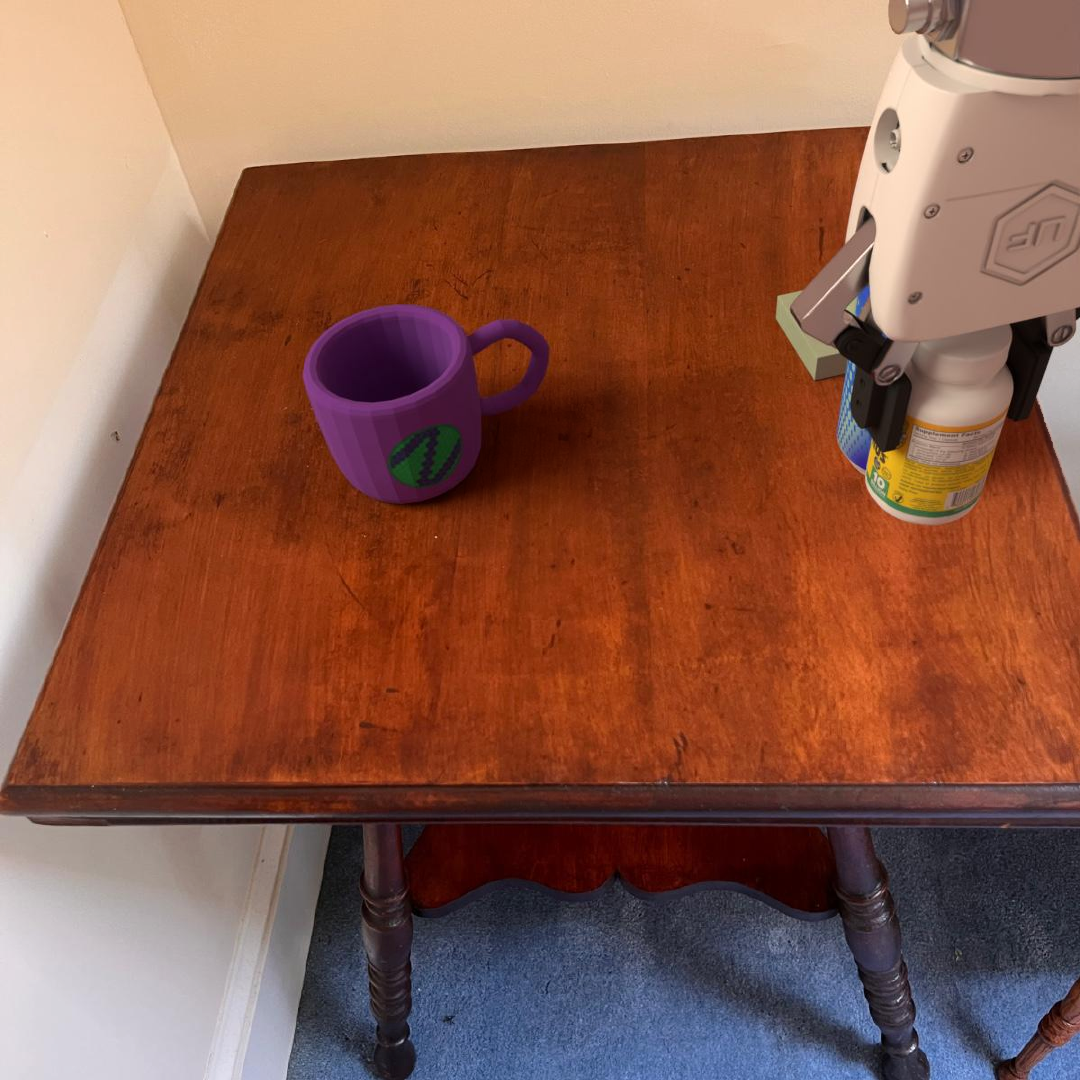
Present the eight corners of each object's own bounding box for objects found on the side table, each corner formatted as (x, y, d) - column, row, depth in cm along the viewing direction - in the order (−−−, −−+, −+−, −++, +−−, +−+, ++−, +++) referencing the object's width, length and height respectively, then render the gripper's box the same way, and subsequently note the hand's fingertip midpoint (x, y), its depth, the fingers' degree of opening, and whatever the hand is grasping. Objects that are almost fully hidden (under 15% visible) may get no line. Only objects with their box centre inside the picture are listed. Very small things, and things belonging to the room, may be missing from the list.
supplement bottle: (976, 537, 48) (1029, 379, 41) (856, 518, 49) (888, 362, 42) (981, 456, 51) (1032, 296, 44) (869, 441, 53) (900, 283, 45)
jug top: (905, 289, 83) (914, 246, 80) (953, 349, 78) (964, 305, 75) (775, 318, 83) (778, 276, 80) (814, 381, 77) (819, 338, 74)
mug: (367, 540, 71) (330, 435, 64) (318, 442, 78) (279, 337, 71) (589, 447, 75) (580, 338, 68) (524, 362, 82) (508, 254, 75)
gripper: (840, 103, 30) (788, 518, 44) (1383, -10, 31) (1166, 429, 45) (750, 2, 35) (729, 404, 49) (1222, -93, 36) (1071, 326, 50)
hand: (939, 412), depth 46 cm, fingers closed on supplement bottle, 5 cm apart
